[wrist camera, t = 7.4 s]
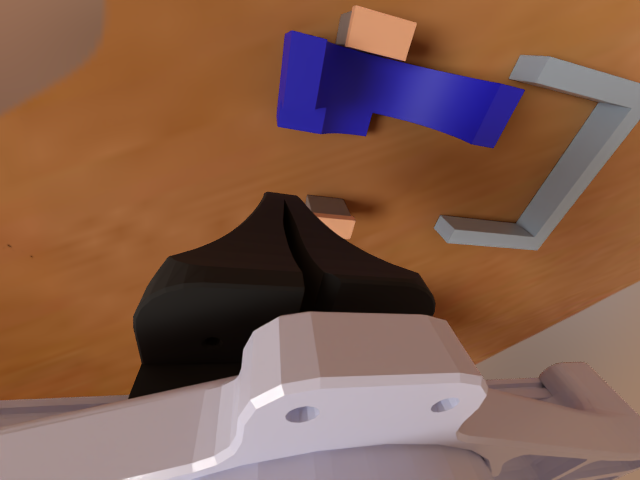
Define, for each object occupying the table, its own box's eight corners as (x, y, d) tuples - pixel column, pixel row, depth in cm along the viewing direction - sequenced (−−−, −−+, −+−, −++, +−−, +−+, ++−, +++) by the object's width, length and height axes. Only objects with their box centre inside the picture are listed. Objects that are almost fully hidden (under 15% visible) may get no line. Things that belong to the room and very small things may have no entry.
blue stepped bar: (276, 115, 19) (279, 141, 14) (284, 34, 16) (291, 30, 11) (432, 143, 21) (480, 173, 17) (459, 77, 19) (525, 89, 14)
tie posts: (339, 214, 24) (349, 239, 21) (302, 211, 23) (308, 235, 20) (390, 26, 17) (416, 23, 14) (339, 12, 16) (355, 5, 13)
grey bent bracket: (518, 236, 28) (537, 250, 26) (433, 227, 26) (447, 242, 24) (626, 85, 21) (662, 90, 19) (520, 54, 18) (549, 56, 17)
